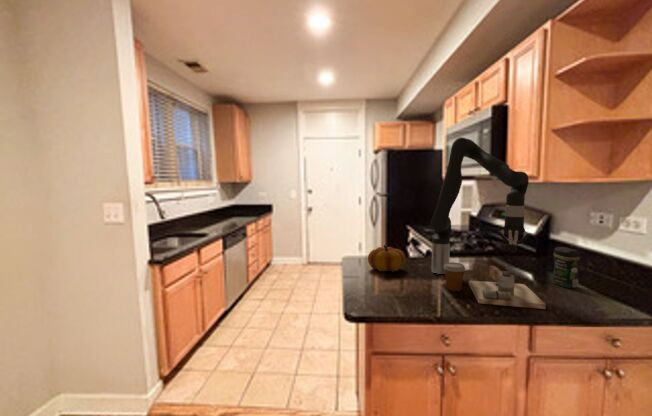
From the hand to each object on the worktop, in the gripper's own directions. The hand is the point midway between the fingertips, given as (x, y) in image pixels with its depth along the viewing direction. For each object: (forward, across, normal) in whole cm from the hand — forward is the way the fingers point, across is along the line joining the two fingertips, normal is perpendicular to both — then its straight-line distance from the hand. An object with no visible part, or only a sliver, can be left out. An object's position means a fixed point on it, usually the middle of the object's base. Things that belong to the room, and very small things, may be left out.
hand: (512, 252), depth 136 cm
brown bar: (+16, -4, -7) cm, 18 cm away
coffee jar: (+18, +20, +22) cm, 35 cm away
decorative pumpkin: (+20, -63, -1) cm, 66 cm away
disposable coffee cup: (+19, -22, -13) cm, 32 cm away
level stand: (+18, -2, -8) cm, 20 cm away
